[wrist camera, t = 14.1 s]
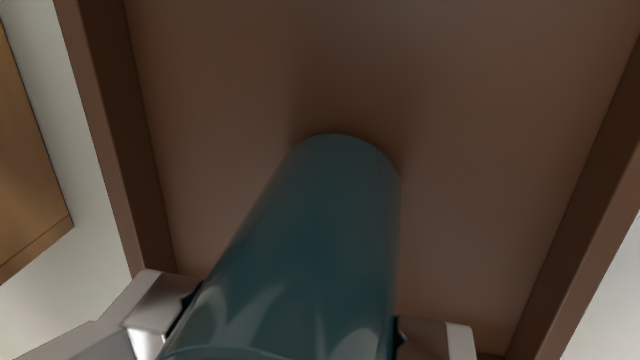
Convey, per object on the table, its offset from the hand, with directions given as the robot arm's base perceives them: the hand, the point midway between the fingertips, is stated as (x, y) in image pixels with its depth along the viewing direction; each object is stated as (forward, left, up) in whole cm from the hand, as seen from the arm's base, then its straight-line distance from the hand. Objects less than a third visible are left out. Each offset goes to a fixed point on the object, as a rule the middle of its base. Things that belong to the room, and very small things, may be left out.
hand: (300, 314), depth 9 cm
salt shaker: (0, 0, -5) cm, 5 cm away
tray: (0, 0, -7) cm, 7 cm away
